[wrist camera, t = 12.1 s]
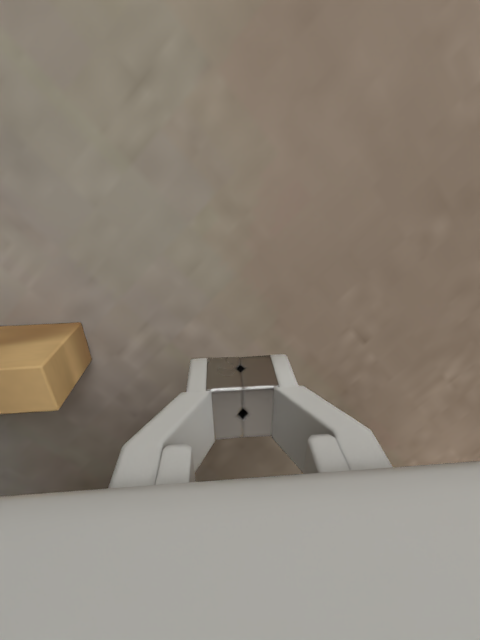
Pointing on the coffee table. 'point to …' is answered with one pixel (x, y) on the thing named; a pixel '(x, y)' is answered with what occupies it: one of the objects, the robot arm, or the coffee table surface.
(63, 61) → the coffee table surface
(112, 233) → the coffee table surface
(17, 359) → the pronged wooden handle
